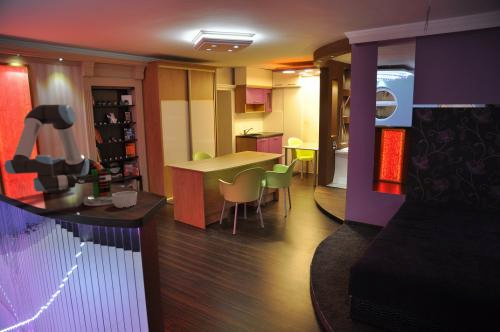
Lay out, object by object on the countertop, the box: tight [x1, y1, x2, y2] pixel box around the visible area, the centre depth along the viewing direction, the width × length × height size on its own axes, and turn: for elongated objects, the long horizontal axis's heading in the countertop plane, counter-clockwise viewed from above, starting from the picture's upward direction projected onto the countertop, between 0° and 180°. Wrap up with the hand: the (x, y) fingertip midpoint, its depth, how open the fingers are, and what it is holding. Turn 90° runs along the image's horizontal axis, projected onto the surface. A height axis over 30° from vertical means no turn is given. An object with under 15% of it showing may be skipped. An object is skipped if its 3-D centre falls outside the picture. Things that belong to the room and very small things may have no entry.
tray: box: [82, 192, 114, 207], centre depth 203 cm, size 20×20×3 cm
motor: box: [91, 161, 112, 197], centre depth 201 cm, size 10×9×20 cm
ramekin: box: [112, 190, 138, 209], centre depth 193 cm, size 13×13×7 cm
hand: (109, 176), depth 204 cm, fingers closed on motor, 7 cm apart
